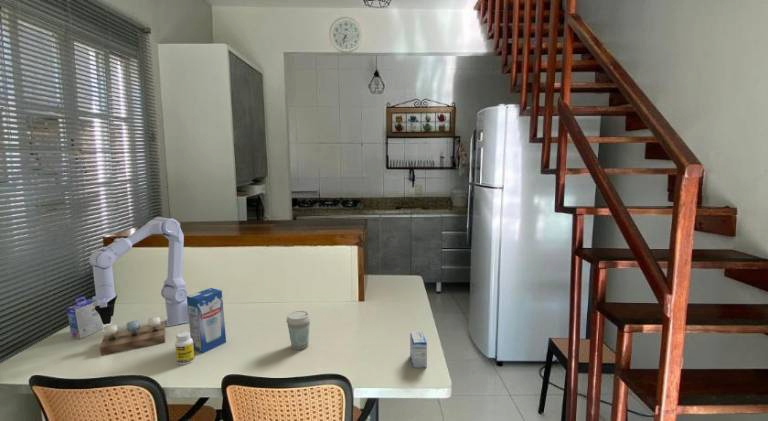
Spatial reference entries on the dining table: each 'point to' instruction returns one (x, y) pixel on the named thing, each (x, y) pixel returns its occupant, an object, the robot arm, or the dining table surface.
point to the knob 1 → (110, 330)
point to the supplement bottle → (184, 348)
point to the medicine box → (418, 349)
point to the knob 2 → (154, 322)
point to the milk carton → (206, 319)
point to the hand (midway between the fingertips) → (108, 320)
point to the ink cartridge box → (84, 318)
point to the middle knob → (133, 326)
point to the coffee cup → (299, 329)
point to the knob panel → (132, 339)
